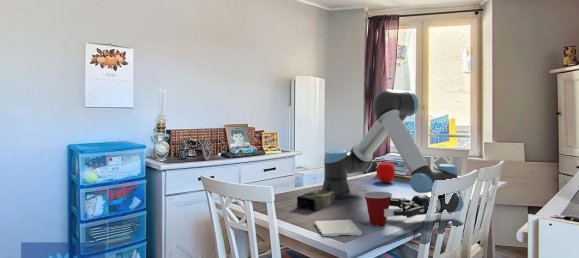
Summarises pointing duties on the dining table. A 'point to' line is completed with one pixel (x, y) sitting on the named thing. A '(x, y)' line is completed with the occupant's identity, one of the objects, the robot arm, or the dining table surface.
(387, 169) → the tomato
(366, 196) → the plastic cup
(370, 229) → the dining table surface
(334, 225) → the cream tile
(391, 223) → the dining table surface
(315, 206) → the olive boxy piece
